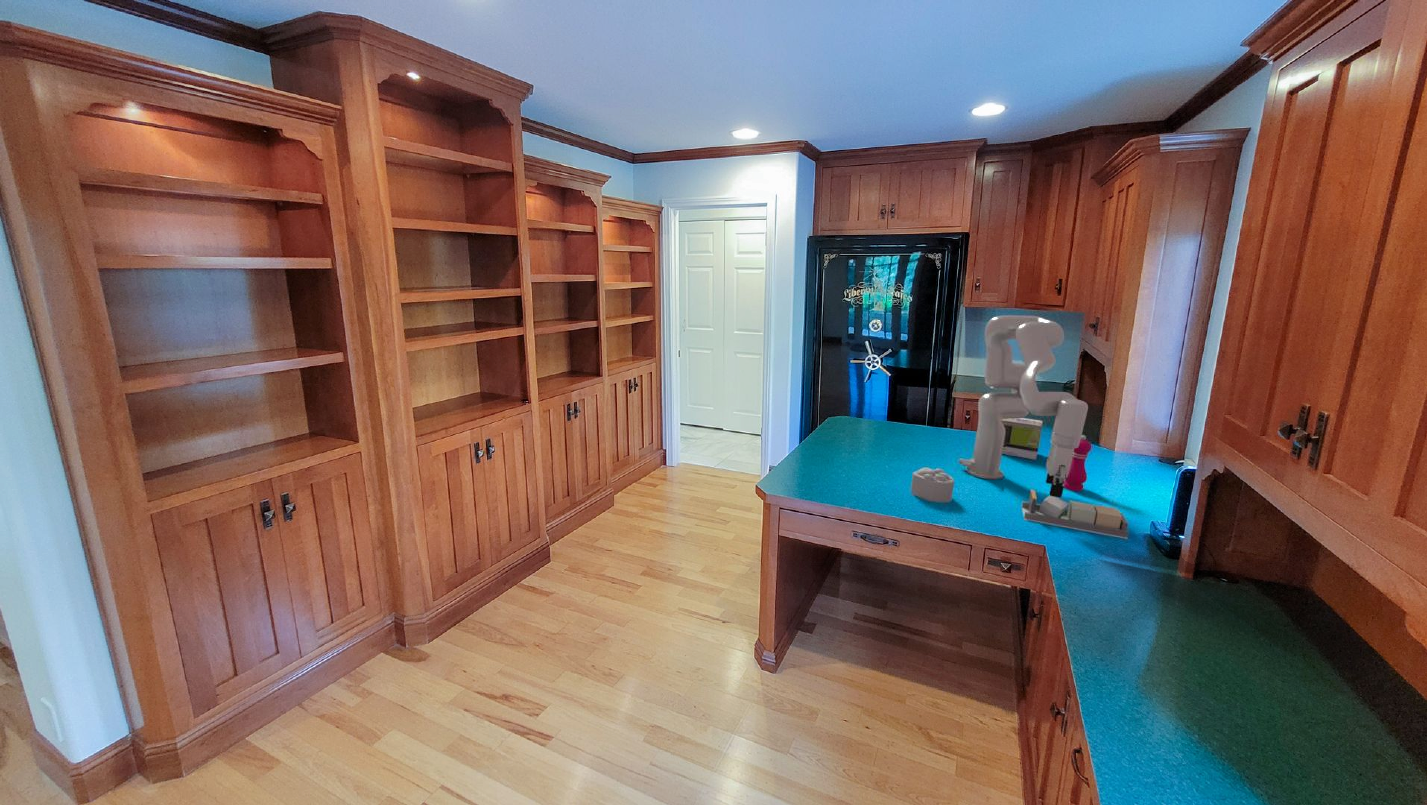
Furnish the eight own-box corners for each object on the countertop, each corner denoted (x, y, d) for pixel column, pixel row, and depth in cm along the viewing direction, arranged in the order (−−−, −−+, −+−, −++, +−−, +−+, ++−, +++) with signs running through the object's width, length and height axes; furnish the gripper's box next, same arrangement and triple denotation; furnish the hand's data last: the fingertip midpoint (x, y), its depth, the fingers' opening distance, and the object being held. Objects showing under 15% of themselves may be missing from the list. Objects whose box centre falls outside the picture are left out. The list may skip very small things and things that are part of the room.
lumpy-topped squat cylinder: (921, 485, 201) (924, 462, 198) (957, 497, 191) (961, 473, 189) (907, 493, 194) (910, 469, 191) (943, 505, 185) (946, 481, 182)
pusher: (1029, 516, 175) (1033, 497, 174) (1027, 508, 181) (1031, 489, 180) (1033, 517, 175) (1036, 498, 173) (1030, 508, 181) (1034, 490, 179)
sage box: (1069, 524, 172) (1073, 508, 170) (1066, 516, 177) (1069, 500, 175) (1092, 528, 169) (1096, 512, 168) (1088, 520, 175) (1092, 504, 173)
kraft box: (1094, 529, 169) (1098, 512, 168) (1090, 520, 174) (1094, 504, 173) (1117, 533, 167) (1122, 516, 165) (1113, 524, 172) (1117, 508, 171)
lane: (1023, 522, 174) (1026, 507, 173) (1021, 508, 184) (1023, 494, 183) (1127, 541, 164) (1131, 526, 163) (1118, 525, 174) (1122, 511, 172)
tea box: (1037, 453, 235) (1043, 420, 231) (1035, 460, 227) (1042, 426, 223) (998, 446, 243) (1003, 413, 239) (995, 453, 235) (1000, 419, 231)
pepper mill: (1087, 492, 197) (1099, 439, 192) (1065, 490, 199) (1076, 437, 193) (1079, 484, 204) (1090, 433, 199) (1057, 482, 205) (1068, 431, 200)
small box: (1055, 521, 172) (1061, 509, 170) (1037, 511, 176) (1042, 499, 174) (1063, 515, 176) (1069, 503, 173) (1045, 506, 180) (1051, 493, 177)
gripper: (1047, 428, 178) (1036, 476, 184) (1054, 446, 163) (1042, 499, 169) (1075, 432, 175) (1063, 481, 181) (1084, 451, 160) (1071, 504, 166)
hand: (1053, 489), depth 175 cm, fingers open, 9 cm apart
